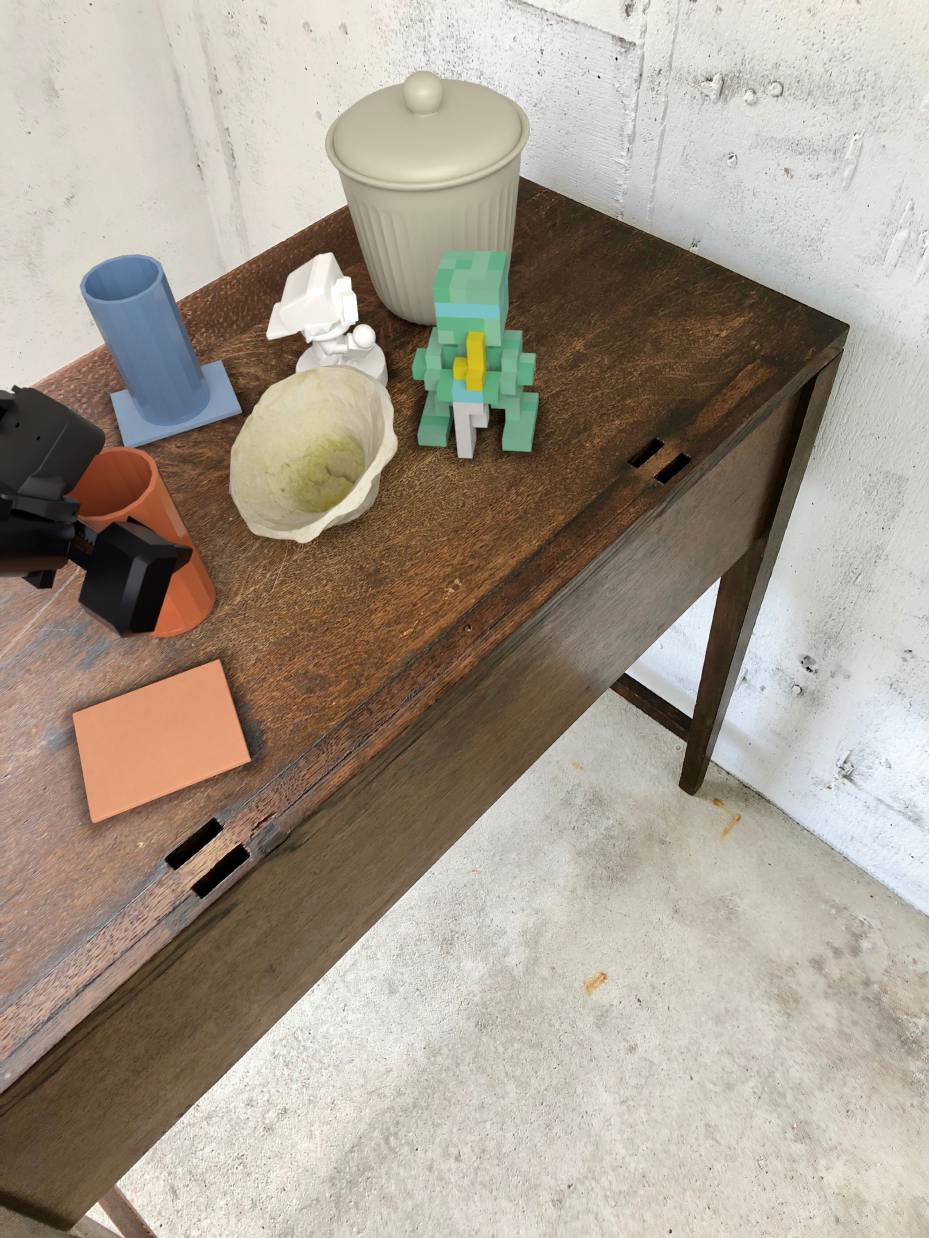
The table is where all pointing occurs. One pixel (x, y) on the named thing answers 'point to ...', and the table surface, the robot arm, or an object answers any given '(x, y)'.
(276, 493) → the bowl
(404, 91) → the canister
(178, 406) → the blue cup
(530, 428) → the toy
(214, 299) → the table surface
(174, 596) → the terracotta cup
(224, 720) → the peach mat
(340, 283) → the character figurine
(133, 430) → the blue mat
